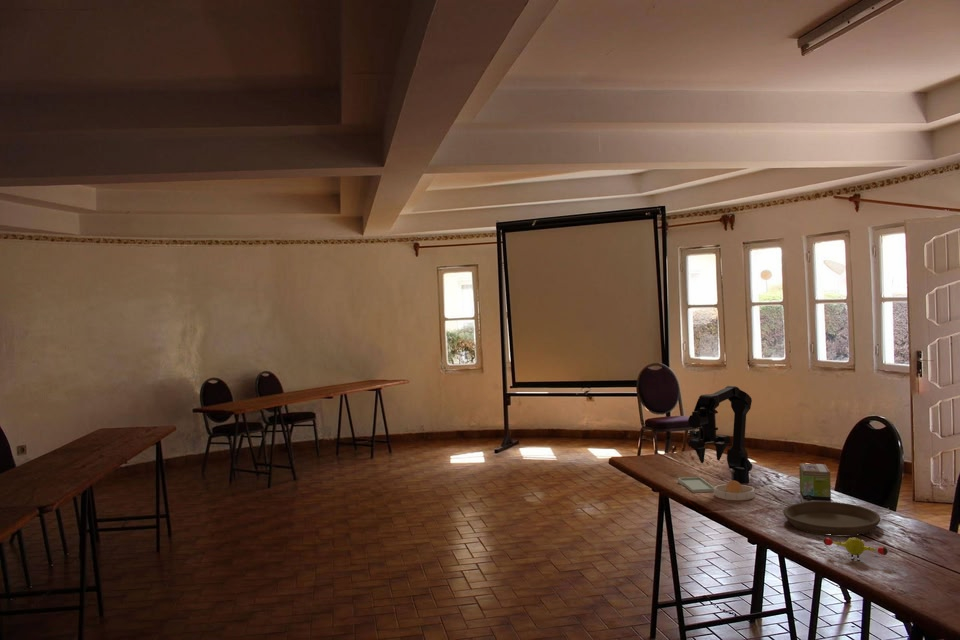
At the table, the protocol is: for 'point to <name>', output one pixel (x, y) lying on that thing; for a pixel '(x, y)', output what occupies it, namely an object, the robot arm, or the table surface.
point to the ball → (734, 487)
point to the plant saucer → (831, 518)
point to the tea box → (815, 483)
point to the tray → (696, 484)
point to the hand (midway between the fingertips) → (710, 461)
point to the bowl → (745, 493)
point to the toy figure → (855, 546)
